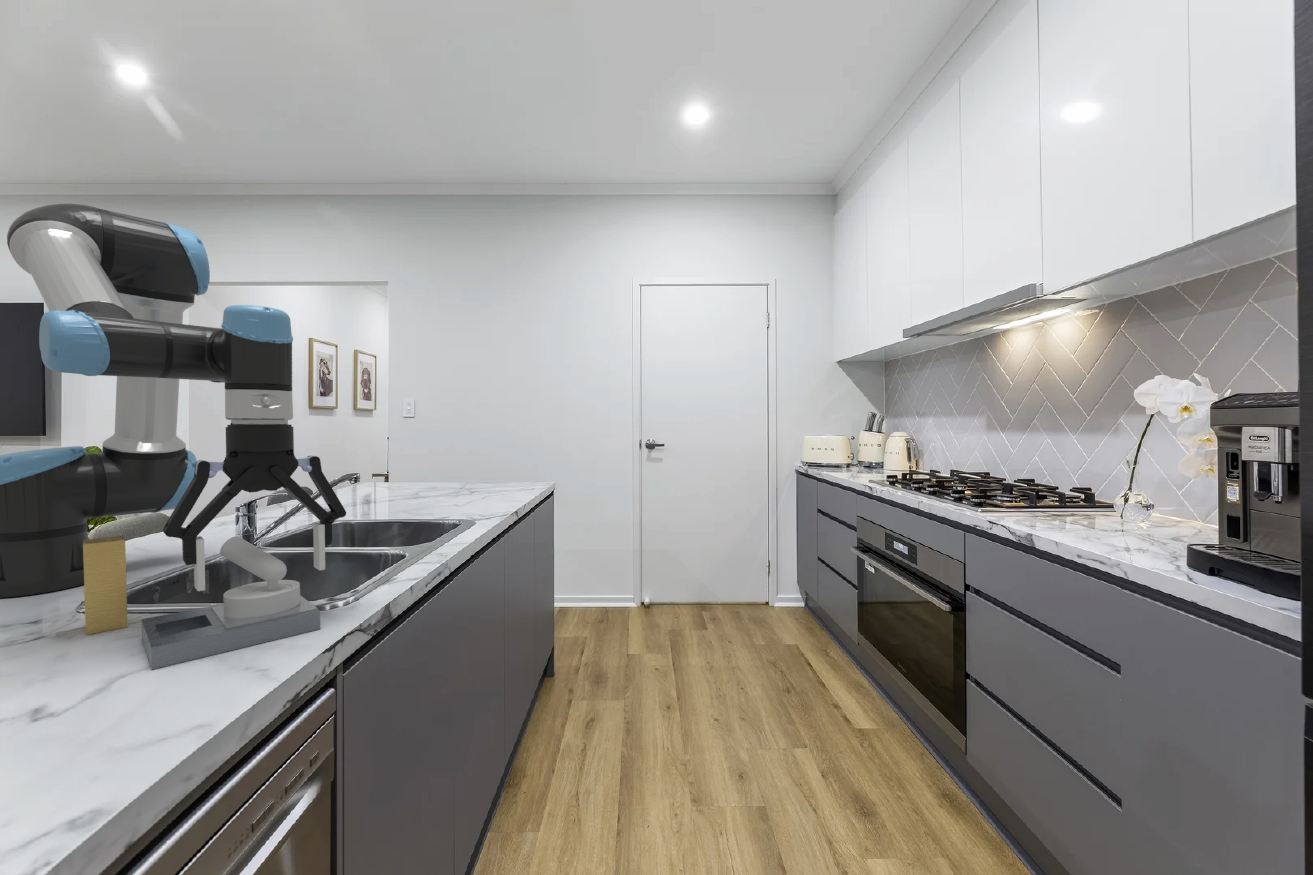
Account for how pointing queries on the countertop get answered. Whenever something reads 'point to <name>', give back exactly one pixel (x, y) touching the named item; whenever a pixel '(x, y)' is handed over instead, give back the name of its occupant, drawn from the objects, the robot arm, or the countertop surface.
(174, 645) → the block
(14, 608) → the countertop surface
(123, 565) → the yellow block
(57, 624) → the countertop surface
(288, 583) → the white tilted spotlight lamp
